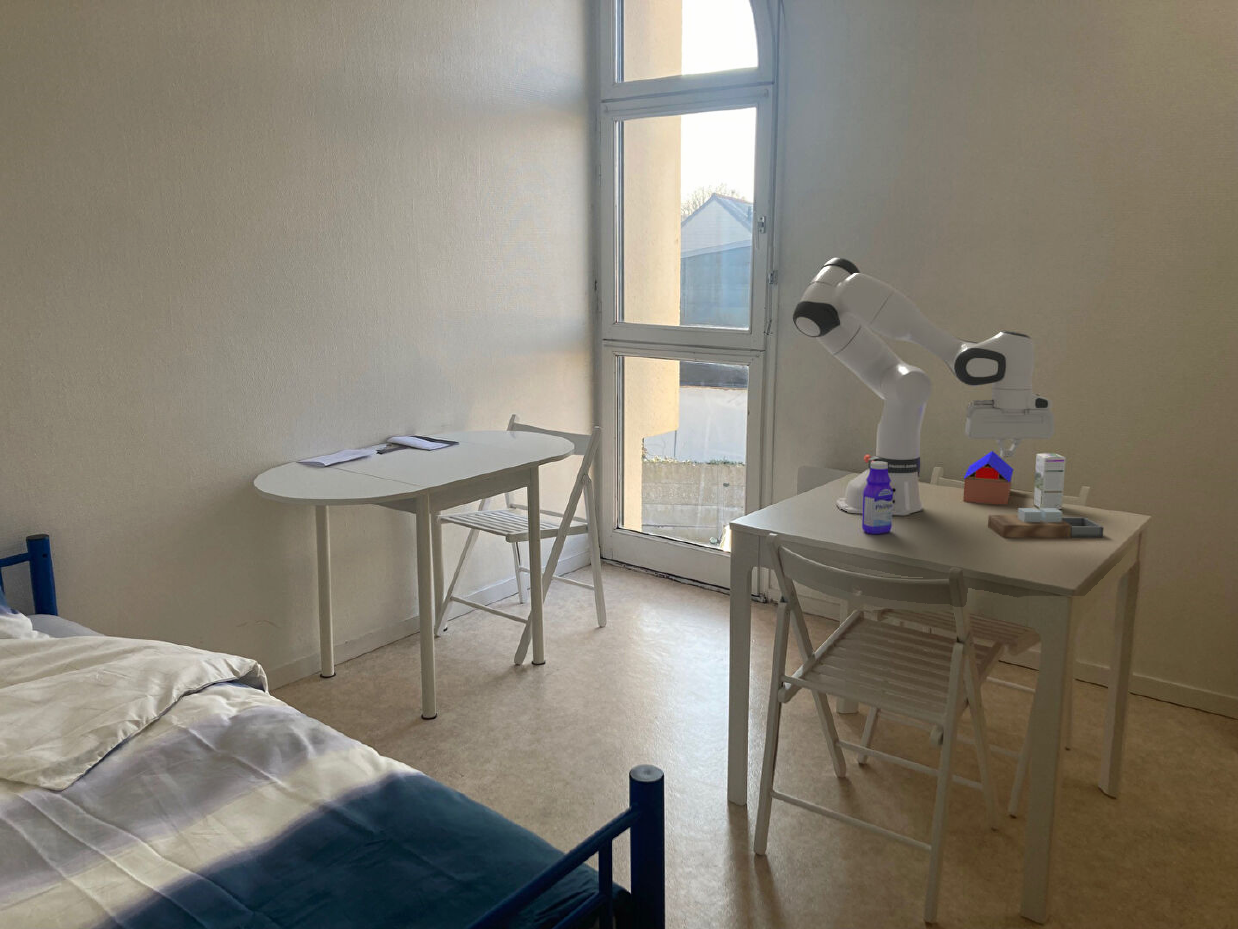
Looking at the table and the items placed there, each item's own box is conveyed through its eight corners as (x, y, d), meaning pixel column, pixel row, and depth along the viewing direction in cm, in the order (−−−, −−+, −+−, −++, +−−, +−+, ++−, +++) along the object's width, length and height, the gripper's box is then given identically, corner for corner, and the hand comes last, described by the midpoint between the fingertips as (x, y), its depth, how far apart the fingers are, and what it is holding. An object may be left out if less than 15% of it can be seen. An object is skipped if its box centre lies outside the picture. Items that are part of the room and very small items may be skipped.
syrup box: (1062, 510, 254) (1067, 457, 251) (1040, 510, 254) (1044, 457, 251) (1053, 505, 259) (1057, 453, 257) (1031, 505, 259) (1035, 453, 257)
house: (961, 502, 264) (964, 461, 262) (968, 487, 282) (970, 449, 280) (1008, 506, 259) (1011, 464, 257) (1011, 491, 277) (1014, 452, 275)
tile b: (1024, 522, 230) (1024, 512, 229) (1017, 518, 234) (1018, 508, 233) (1040, 522, 230) (1041, 512, 229) (1033, 518, 234) (1034, 508, 233)
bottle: (873, 536, 229) (876, 465, 226) (857, 531, 234) (860, 461, 231) (895, 532, 232) (899, 463, 229) (879, 527, 237) (882, 459, 234)
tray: (1071, 537, 228) (1071, 527, 227) (1053, 526, 237) (1054, 517, 236) (1102, 537, 227) (1103, 527, 227) (1084, 526, 237) (1085, 517, 236)
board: (1002, 537, 228) (1003, 525, 227) (987, 526, 238) (988, 515, 237) (1070, 537, 227) (1071, 525, 227) (1052, 526, 237) (1053, 515, 237)
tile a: (1044, 522, 230) (1045, 512, 229) (1038, 518, 234) (1038, 508, 233) (1061, 522, 230) (1062, 512, 229) (1054, 518, 234) (1055, 508, 233)
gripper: (971, 401, 223) (968, 459, 226) (1059, 401, 223) (1054, 459, 226) (963, 398, 230) (959, 454, 232) (1048, 398, 229) (1043, 454, 232)
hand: (1007, 456), depth 229 cm, fingers closed
